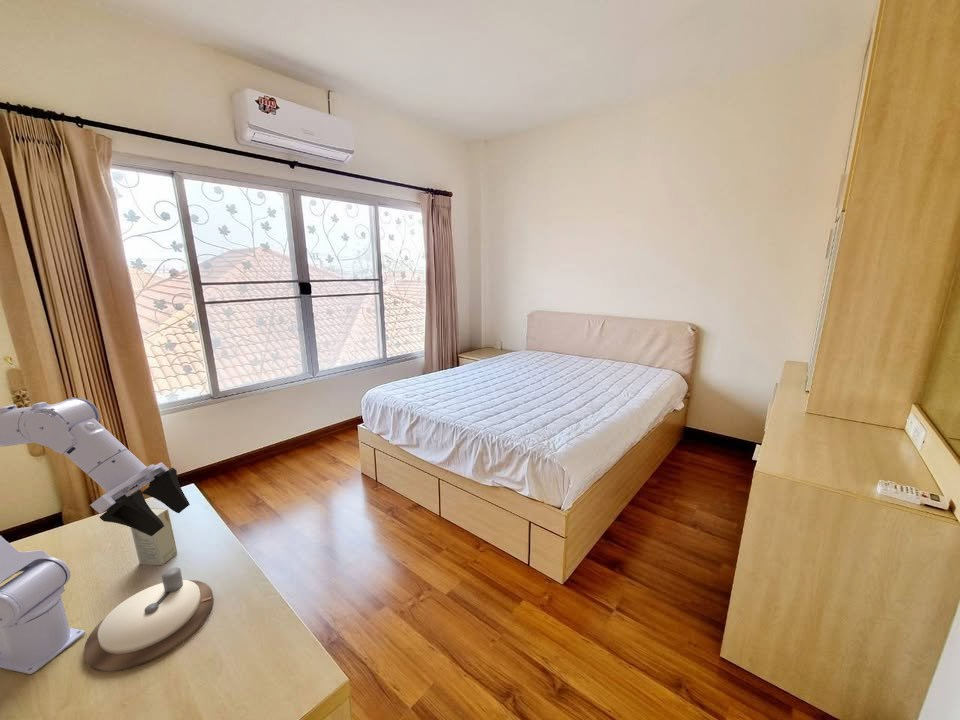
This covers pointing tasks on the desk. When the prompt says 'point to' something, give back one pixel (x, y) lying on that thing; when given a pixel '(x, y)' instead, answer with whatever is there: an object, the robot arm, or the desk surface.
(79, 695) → the desk surface
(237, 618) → the desk surface
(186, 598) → the dial
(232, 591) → the desk surface
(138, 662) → the dial base
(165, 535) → the skincare box
